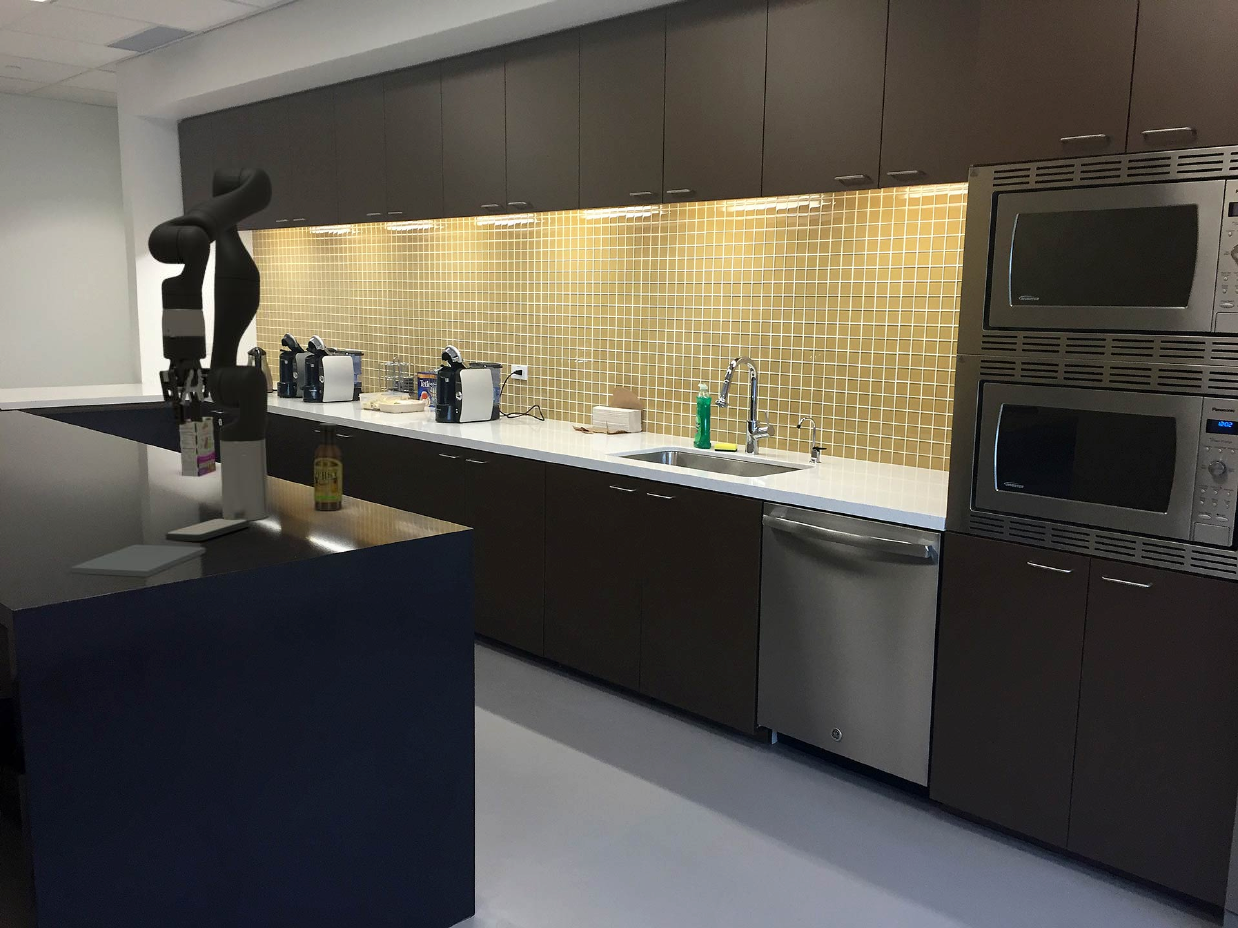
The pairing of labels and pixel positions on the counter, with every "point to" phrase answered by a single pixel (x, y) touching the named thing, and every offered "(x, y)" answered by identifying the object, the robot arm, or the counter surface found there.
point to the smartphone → (207, 530)
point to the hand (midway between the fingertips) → (188, 422)
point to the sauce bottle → (328, 469)
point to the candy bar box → (197, 447)
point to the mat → (138, 560)
